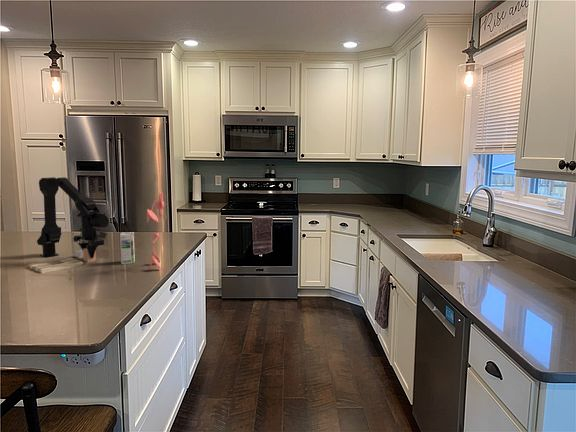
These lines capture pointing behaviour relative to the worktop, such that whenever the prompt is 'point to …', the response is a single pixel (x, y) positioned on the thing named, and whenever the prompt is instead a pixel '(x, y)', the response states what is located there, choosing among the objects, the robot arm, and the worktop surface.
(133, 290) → the worktop surface
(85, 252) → the tall peg
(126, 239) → the syrup box
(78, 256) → the short peg
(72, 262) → the hole board
